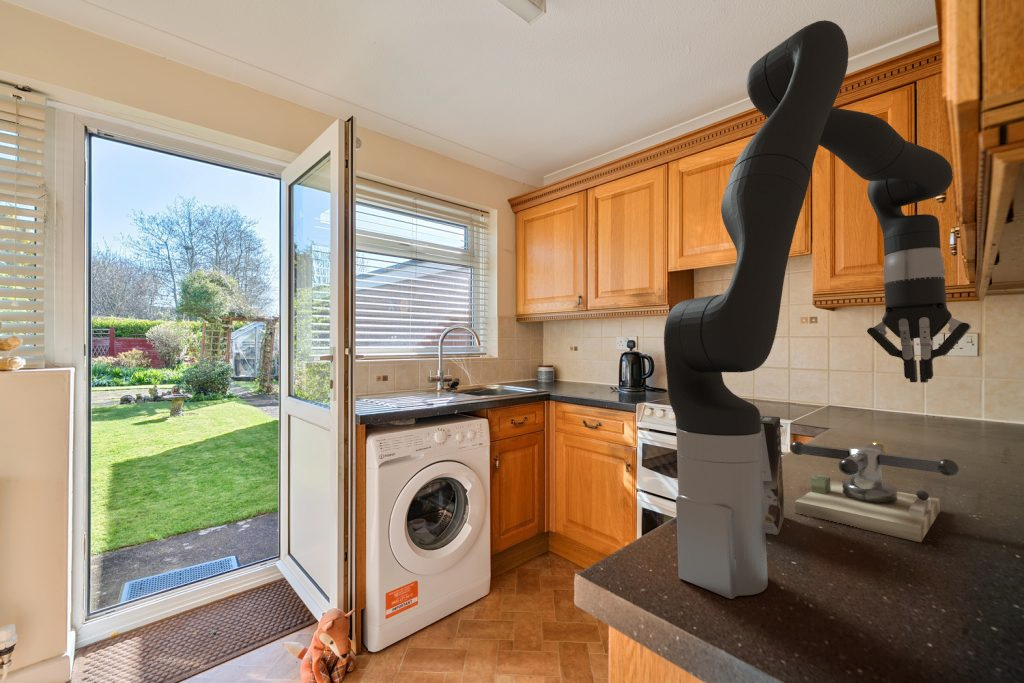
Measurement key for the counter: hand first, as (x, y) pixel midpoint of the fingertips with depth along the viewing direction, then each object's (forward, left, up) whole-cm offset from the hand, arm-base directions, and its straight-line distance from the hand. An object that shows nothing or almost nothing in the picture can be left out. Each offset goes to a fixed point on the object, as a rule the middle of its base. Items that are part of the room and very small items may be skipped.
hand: (919, 382), depth 72 cm
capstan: (-9, +6, -19) cm, 21 cm away
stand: (-9, +6, -21) cm, 23 cm away
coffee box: (-26, +16, -21) cm, 37 cm away
